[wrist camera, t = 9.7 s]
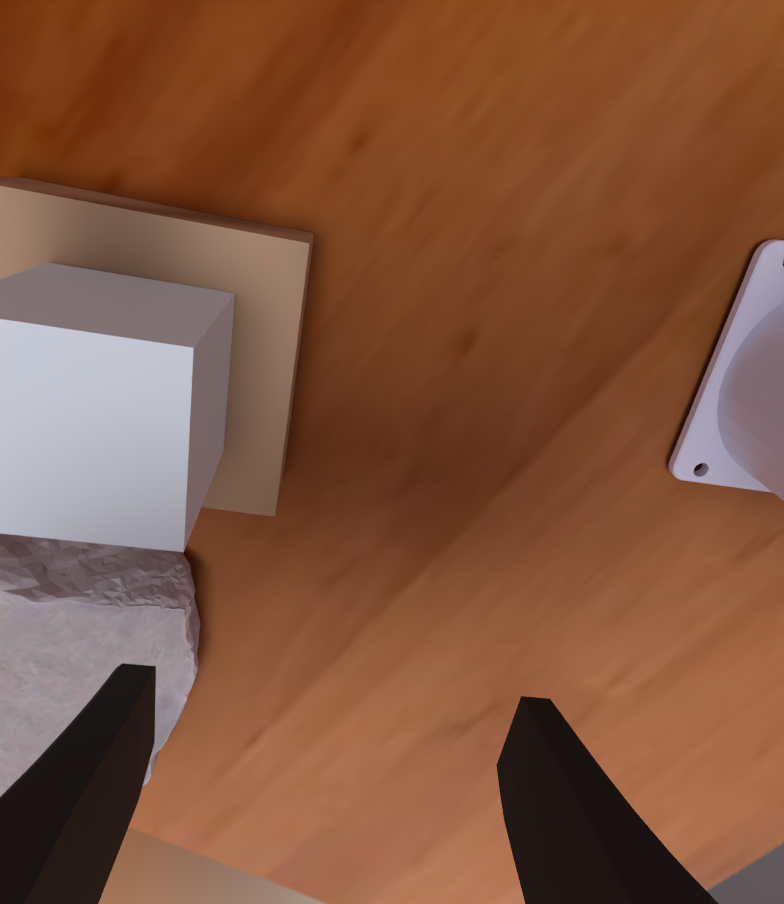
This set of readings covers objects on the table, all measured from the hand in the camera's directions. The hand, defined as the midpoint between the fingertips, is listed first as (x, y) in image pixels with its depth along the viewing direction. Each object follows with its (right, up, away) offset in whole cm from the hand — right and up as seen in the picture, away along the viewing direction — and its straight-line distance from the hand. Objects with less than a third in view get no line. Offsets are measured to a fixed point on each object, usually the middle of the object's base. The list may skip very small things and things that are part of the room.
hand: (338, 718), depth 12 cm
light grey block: (-6, +8, +4) cm, 10 cm away
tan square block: (-6, +9, +7) cm, 13 cm away
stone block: (-11, -2, +12) cm, 16 cm away
